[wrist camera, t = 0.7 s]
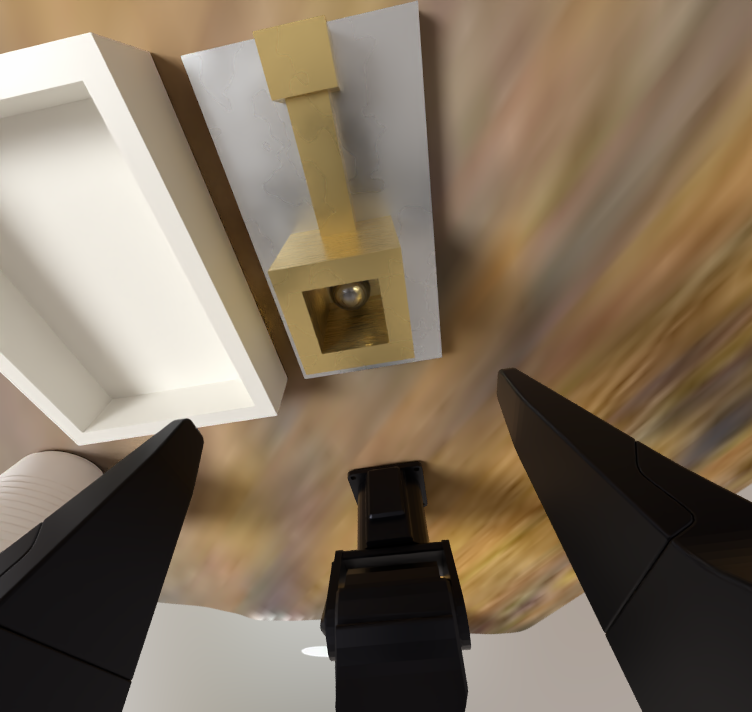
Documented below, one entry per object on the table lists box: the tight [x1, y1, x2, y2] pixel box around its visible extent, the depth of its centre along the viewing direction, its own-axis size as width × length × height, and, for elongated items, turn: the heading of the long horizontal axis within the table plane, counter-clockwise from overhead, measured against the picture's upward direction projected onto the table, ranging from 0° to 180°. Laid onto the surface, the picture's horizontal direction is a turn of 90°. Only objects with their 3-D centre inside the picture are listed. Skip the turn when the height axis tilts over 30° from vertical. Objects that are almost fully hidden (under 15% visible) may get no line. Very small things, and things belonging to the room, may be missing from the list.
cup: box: [0, 451, 103, 553], centre depth 23 cm, size 10×10×11 cm
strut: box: [253, 15, 415, 375], centre depth 14 cm, size 12×5×5 cm, turn 10°
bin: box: [0, 32, 288, 446], centre depth 17 cm, size 17×13×4 cm
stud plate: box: [181, 1, 442, 379], centre depth 16 cm, size 16×9×4 cm, turn 10°
